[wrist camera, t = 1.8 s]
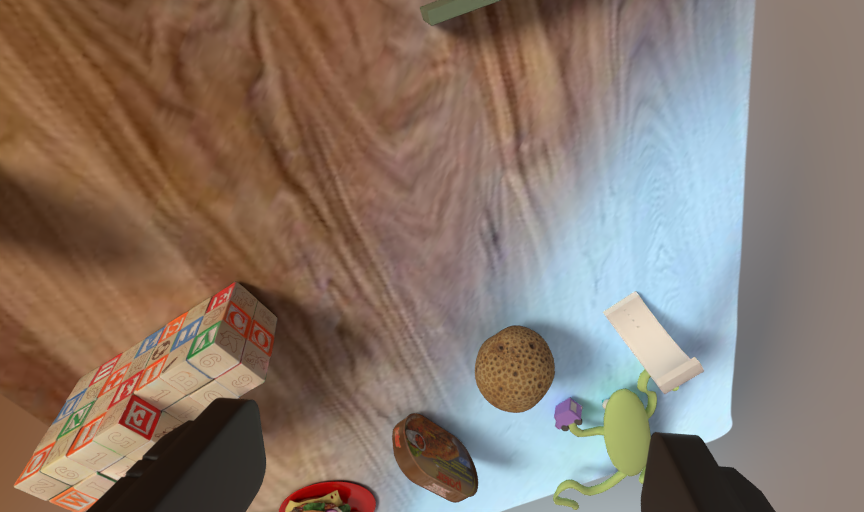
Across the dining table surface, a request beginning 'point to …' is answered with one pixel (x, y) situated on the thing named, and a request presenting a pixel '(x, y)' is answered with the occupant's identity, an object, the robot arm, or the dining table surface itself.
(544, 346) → the natural sponge
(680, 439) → the robot arm
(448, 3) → the green rectangular frame
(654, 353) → the headphone stand
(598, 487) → the figurine
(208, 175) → the dining table surface
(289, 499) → the hamburger
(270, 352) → the stack of blocks
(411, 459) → the tin
